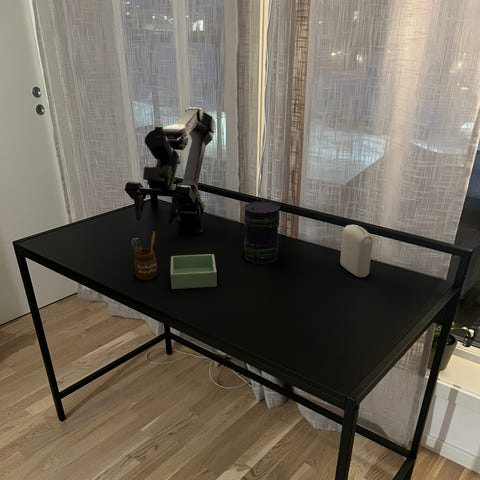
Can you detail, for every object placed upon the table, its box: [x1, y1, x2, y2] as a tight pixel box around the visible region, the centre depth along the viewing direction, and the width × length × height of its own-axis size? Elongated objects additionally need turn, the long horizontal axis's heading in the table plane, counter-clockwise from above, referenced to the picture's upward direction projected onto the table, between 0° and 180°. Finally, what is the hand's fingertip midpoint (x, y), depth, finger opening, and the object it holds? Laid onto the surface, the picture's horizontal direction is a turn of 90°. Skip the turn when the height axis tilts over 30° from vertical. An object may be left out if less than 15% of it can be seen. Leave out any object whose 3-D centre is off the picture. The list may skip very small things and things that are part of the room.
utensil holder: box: [131, 231, 158, 281], centre depth 135 cm, size 6×6×12 cm
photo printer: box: [339, 224, 374, 278], centre depth 137 cm, size 10×4×12 cm, turn 20°
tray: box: [169, 253, 218, 290], centre depth 136 cm, size 12×12×4 cm
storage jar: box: [243, 200, 280, 265], centre depth 145 cm, size 10×10×15 cm
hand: (153, 221), depth 138 cm, fingers open, 9 cm apart
